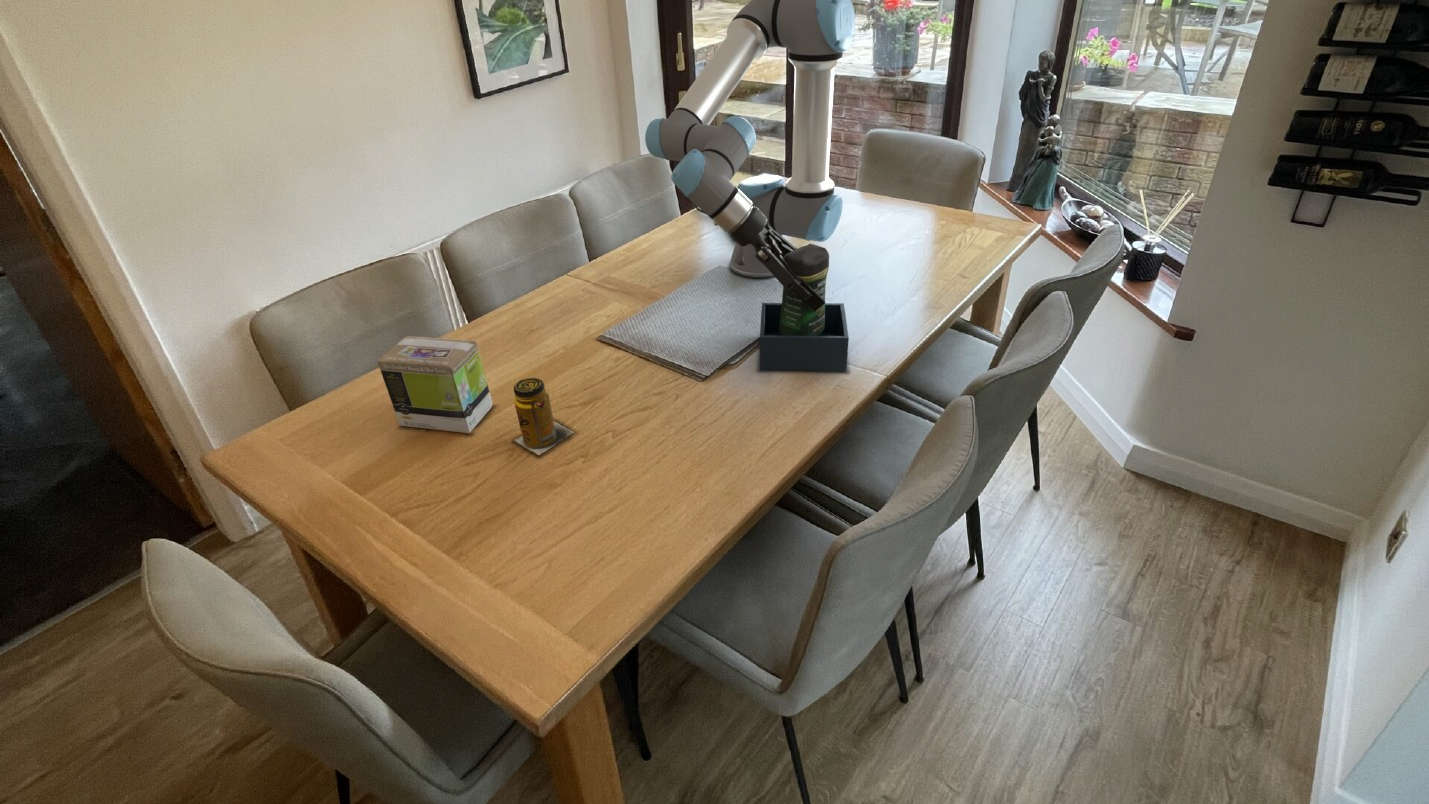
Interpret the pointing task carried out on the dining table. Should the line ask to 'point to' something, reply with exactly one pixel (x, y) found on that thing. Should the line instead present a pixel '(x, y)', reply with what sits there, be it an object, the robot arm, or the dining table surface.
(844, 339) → the open storage box
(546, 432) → the condiment
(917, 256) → the dining table surface
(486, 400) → the tea box
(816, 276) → the coffee jar
